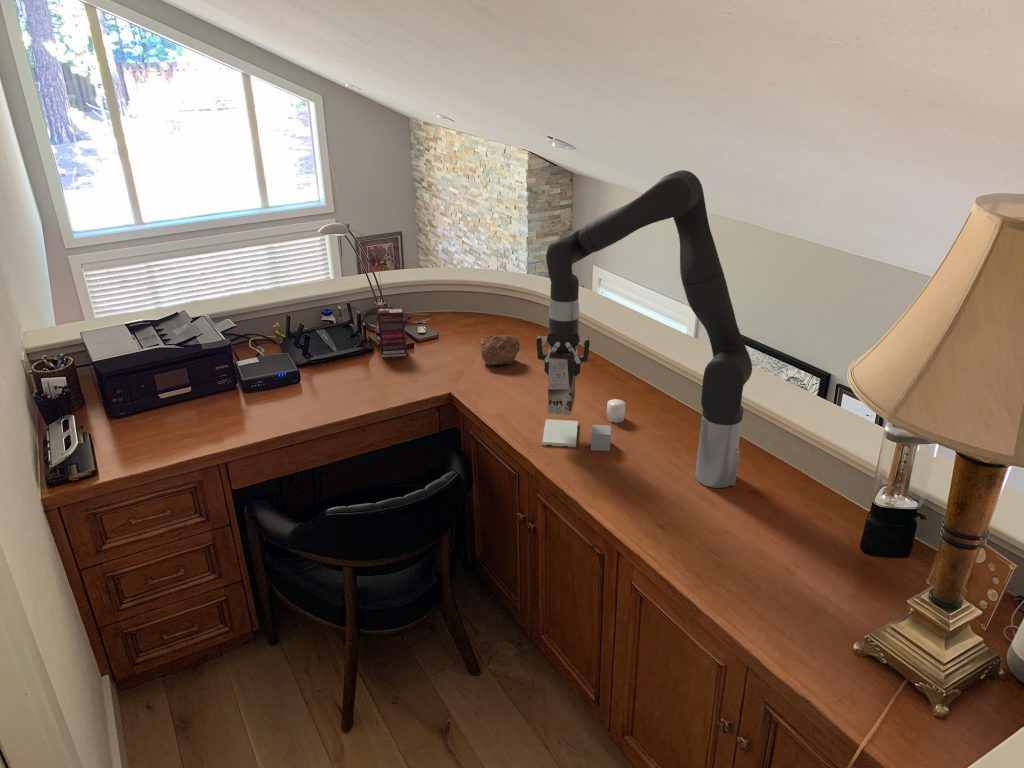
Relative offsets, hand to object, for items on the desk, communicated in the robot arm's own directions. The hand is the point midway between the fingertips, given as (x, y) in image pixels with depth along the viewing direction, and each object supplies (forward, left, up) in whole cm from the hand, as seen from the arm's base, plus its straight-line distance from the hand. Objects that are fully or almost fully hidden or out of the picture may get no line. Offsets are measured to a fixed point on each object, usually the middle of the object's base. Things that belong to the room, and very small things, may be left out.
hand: (562, 374), depth 198 cm
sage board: (0, 0, -18) cm, 18 cm away
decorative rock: (+23, -47, -18) cm, 55 cm away
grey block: (-11, +5, -18) cm, 22 cm away
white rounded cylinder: (-15, -11, -18) cm, 26 cm away
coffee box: (0, 0, -10) cm, 10 cm away
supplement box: (+60, -50, -18) cm, 80 cm away
